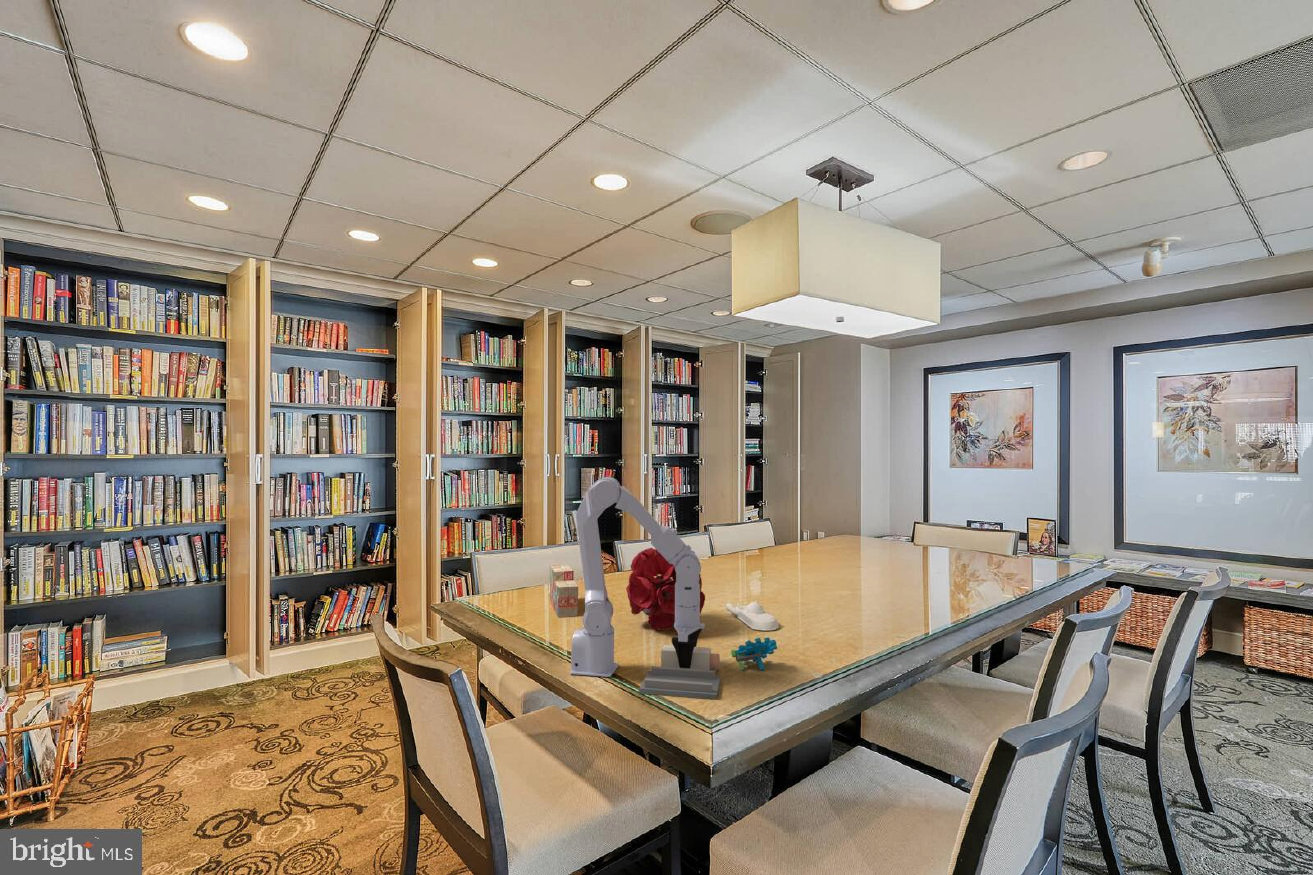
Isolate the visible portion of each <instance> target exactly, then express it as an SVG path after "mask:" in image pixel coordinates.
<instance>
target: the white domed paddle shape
mask: <svg viewBox="0 0 1313 875" xmlns="http://www.w3.org/2000/svg"><path fill="white" fill-rule="evenodd" d="M725 609H726V611H728V612H729V613H731V614H732V615H734V616H735V617H737V618H738V619H739V620H740V621H741V622H743V623H744V624H745V625H747V626H748V627H749V628H750V629H752V630H755V631H762V632H764V631H767V632H768V631H775V630H777V629H779V628H780V626H779V624H778V620H777V617H775V616H773V615H771V614H770V613H768V612H766V611H765V609H764V608H763V606H762V605H761V604H760V603H758V601H757V600H755V601H751V602H750V603H748V604H747V605H740V603H739V601H737V606H734V605H733V604H732V603H730V602H729V603H726V605H725Z"/></svg>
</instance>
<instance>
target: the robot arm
mask: <svg viewBox="0 0 1313 875" xmlns="http://www.w3.org/2000/svg"><path fill="white" fill-rule="evenodd" d="M614 504H616V505H615V506H614V508H615V509H618V510H622V511H624V512H625V511H626V512H627V513H628V514H630V516H632V517H633V519H635V521H636V522H637V523H638V524H639V525H640V526H641V527H642V528H643V529H645V531H646V533H647V532H648V534H649V535H650V544H651V545H652V546H653V547H654V549H655V548H656V550H657V551H658V552H659V553H660V554H661V555H662V556H663V557H664V558H665V559H666V560H667V561H668V563H670V564H673V565H674V567H675V571H676V584H675V623H674V626H673V628H674V629H675V630H676V632H677V634H678V636H672V638H671V643H672V645H673V646H674V648H675V650H676V653H677V657H678V663H679V667H680V668H688V669H690V667H691V661H692V654H693V650H694V647H697V645H698V640H699V636H700V633H701V632H702V630H703V629H705V628H706V624H705V623H703V622H702V623H701V622H700V621H701V620H700V617H701V614H700V584H699V574H700V575H701V572H702V566H701V562H700V559H699V557H698V555H697V554H696V552H695V551H694V550H692V547H691V545H689V544H686V543H685V542H684V541H683V540H682V539H681V537H679V535H677V534H679V533H678V531H677V530H676V529H675V528H671V527H670V526H669V525H668V526H667V525H661V524H660V523H659V522H658V521H657V520H656V519H655V517H654V516H653V515H652V514H651V513H650V512H649V510H647V508H646V507H645V506H644V504H642V503H641V501H640V500H639V499H638V498H637V496H635V495H634V494H633V493H632V492H631V491H630V490H628V489H627V487H625V486H624V485H622V486H621V484H620V482H619V481H618V479H617V478H615V477H611V476H604V477H601V478H600V479H598V480H596V481H595V482H594V483H593V484H592V485H591V486H590V487H589V488H588V489H587V491H586V493H585V495H584V497H583V499H582V501H581V503H580V504H579V506H578V509H577V511H576V513H575V514H576V515H575V518H576V526H577V527H576V528H577V536H578V543H579V544H578V545H579V550H580V552H579V553H580V560H581V565H582V575H583V576H582V577H583V583H584V590H585V591H584V593H585V594H584V606H585V607H584V608H585V609H584V614H583V617H582V624H583V627H582V629H576V630H575V631H574V632H573V635H572V639H571V645H570V646H571V648H570V649H571V650H570V651H571V655H570V656H571V658H570V661H571V662H570V664H571V665H570V668H571V669H570V672H569V674H570V675H577V676H578V675H579V676H592V677H603V678H610V677H612V676H613V674H614V673H615V671H616V670H617V668H618V667H619V666H620V663H619V662H615V627H614V626H613V625H612V617H613V615H614V606H613V603H612V602H611V600H610V599H609V597H608V596H609V595H608V590H607V588H606V580H605V573H604V572H605V571H604V564H603V557H602V555H603V554H602V548H601V540H600V532H599V531H600V530H599V524H598V518H599V517H600V516H601V515H602V514H603V512H604V511H606V509H607V508H609V507H611V506H612V505H614Z"/></svg>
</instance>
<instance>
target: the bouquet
mask: <svg viewBox="0 0 1313 875" xmlns="http://www.w3.org/2000/svg"><path fill="white" fill-rule="evenodd" d="M630 569H631V573H630V574H629V578H628V582H627V583H628V584H627V585H626V587H625V589H626V592H627V598H628V601H629V606H630V612H631V614H633V616H636V615H639V614H640V613H641V612H643V613H644V614H648V617H647V619H648V621H647V622H648V625H649V627H650V628H652V629H653V630H670V629H672V627H674V623H675V584H676V571H675V567H674V565H673V564H670V563H668V561H667V560H666V559H665V558H664V557H663V556H662V555H661V554H660V553H659V552H658V551H657V550H656V548H655V547H654V548H653V547H650V548H646V549H644V550H641V551H640V552H638V554H636V555H635V556H634V557H633V559H632V561H631V565H630ZM699 584H700V615H701V613H702V611H703V608H704V605H705V601H706V595H705V593H704V592H703V591H702V586H703V581H702V576H701V573H700V574H699Z"/></svg>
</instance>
